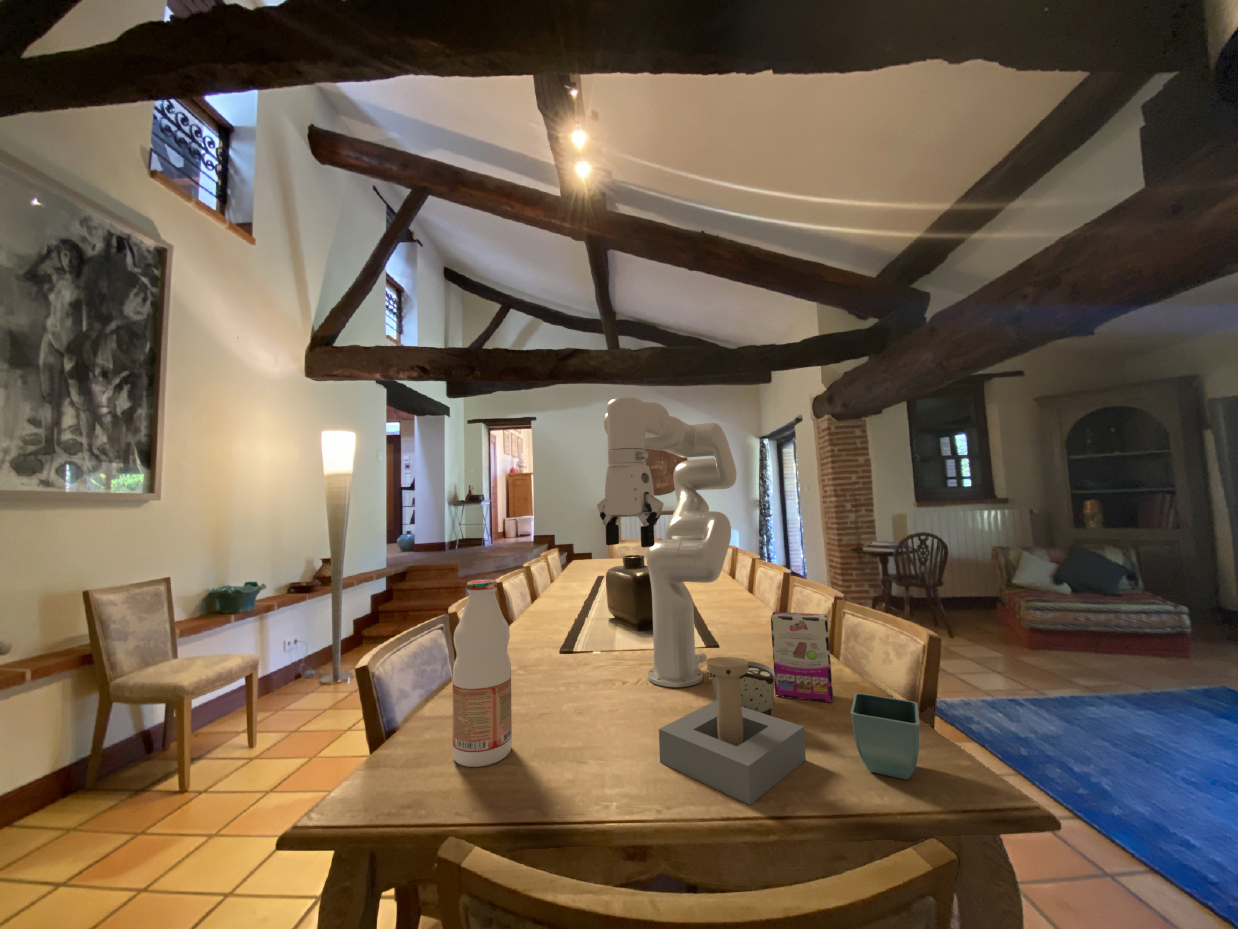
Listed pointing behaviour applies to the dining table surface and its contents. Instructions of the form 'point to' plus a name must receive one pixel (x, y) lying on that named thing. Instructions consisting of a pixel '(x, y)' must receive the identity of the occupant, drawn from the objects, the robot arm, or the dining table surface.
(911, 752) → the flower pot
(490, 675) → the fruit juice
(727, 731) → the handle
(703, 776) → the well block
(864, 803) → the dining table surface
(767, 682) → the food container
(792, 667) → the candy bar box
